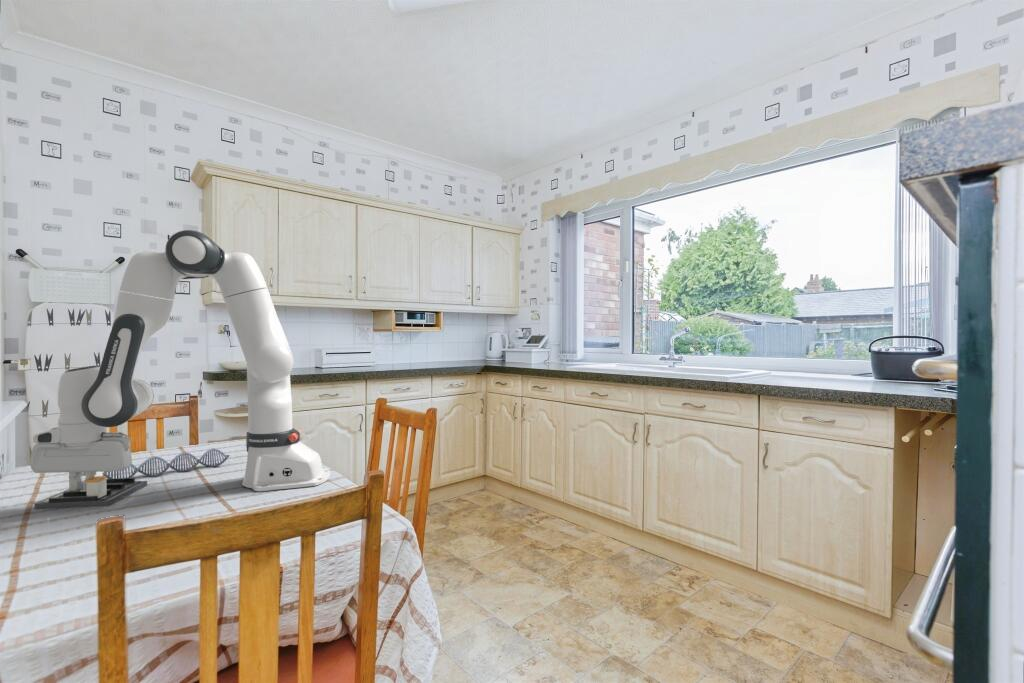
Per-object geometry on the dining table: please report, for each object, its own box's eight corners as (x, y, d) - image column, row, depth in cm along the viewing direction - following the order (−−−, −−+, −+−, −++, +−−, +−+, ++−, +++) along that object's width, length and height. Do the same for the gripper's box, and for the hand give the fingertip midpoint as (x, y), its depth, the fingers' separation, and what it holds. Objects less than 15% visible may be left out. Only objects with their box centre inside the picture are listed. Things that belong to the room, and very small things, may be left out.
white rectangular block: (89, 489, 124) (88, 471, 124) (80, 493, 121) (80, 474, 121) (78, 489, 124) (77, 471, 124) (69, 493, 121) (68, 475, 121)
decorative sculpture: (230, 466, 150) (229, 447, 150) (99, 488, 130) (98, 466, 130) (226, 462, 155) (225, 444, 155) (98, 483, 135) (98, 462, 134)
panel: (147, 485, 132) (147, 477, 132) (109, 505, 117) (109, 496, 117) (81, 487, 130) (81, 479, 130) (34, 508, 115) (34, 499, 115)
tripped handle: (106, 494, 120) (106, 476, 120) (98, 498, 117) (97, 479, 117) (95, 494, 120) (95, 476, 120) (86, 499, 117) (86, 480, 117)
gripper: (137, 429, 123) (137, 484, 123) (46, 430, 120) (47, 486, 120) (121, 435, 116) (121, 492, 117) (24, 436, 114) (25, 495, 114)
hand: (83, 489), depth 118 cm, fingers closed
